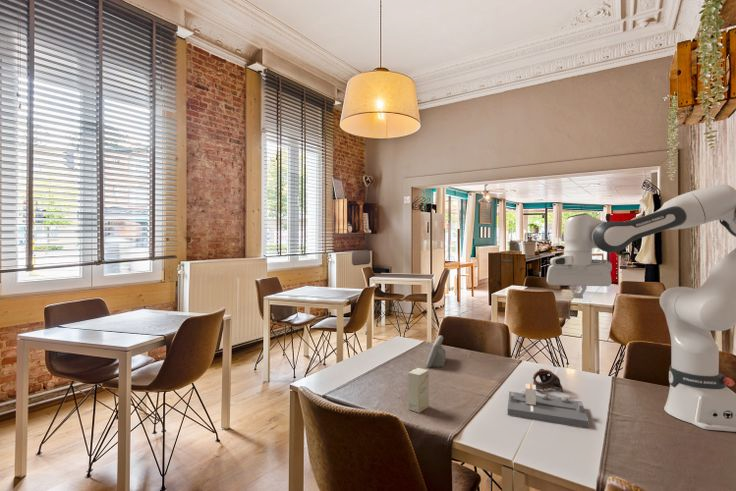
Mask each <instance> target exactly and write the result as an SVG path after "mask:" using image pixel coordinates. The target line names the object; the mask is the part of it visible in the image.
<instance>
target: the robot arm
mask: <svg viewBox="0 0 736 491" xmlns="http://www.w3.org/2000/svg"><path fill="white" fill-rule="evenodd" d="M714 221H719V223H720V225H722V226H723V227H724V228H725V229H726V230H727V231H728V233H729V234H731V236H733V237H735V238H736V189H735V188H734V187H733V186H731V185H728V184H717V185H711V186H706V187H702V188H698V189H694V190H692V191H691V190H690V191H688V192H685V193H682V194H679V195H677V196H675V197H673V198H671V199H669V200H667V201H664V203H663V204H662V206H661V207H660V208H659V209H657V210H656V211H653V212H652V213H648V214H645V215H641V216H638V217H636V218H634V219H633V218H632V219H631V220H630V219H629V220H625V221H617V220H612V221H611V220H608V221H605V220H601V219H599V218H596V217H594V216H592V215H591V214H589V213H579V214H574V215H573V214H572V215H571V216H568V217H567V218H566V219H565V222H564V224H563V241H564V248H563V254H562V255H561V254H560V255H558V256H554V257H552V258H550V260H549V262H550V265H549V266H548V267H547V272H546V283H547V285H549V286H569V290H570V291H571V292H572V298H573V299H580V300H581V299H584V294H585V292H586V290H587V287H610V286H611V285H612V275H611V272H612V270H613V269H612V268H613V266H612V265H613V264H612V262H610V261H609V260H607V259H593V249H599V250H601V251H602V252H605V253H616V252H617V253H619V252H621V251H623V250H624V249H625V248H627V247H628V246H629V245H630V244H632V243H633V242H635V241H636V240H639V239H642V238H645V237H647V236H652V235H653V234H658V233H660V232H663V231H670V230H672V231H673V230H674V231H675V230H676V231H677V230H683V229H689V228H693V227H697V226H698V227H699V226H702V225H705V224H707V223H711V222H714ZM708 274H709V275H708V276H707V279H706V280H705V281H704V282H703V283H702V285H700V286H699V287H698V288H697V287H696V288H692V287H688V286H675V287H669V288H667V289H665V290H664V291H663V292H662V293H661V295H660V296H659V305H660V308H661V309H662V311H663V313H664V316H665V320H666V324H667V328H668V331H669V335H670V336H669V337H670V345H671V347H670V348H671V353H670V355H671V357H670V359H671V364H670V365H669V371H668V381H669V391H668V396H667V398H666V402H665V405H664V408H663V409H664V411H665V413H667V414H669V415H670V416H672V417H674V418H676V419H679V420H681V421H683V422H687V423H689V424H692V425H694V426H696V427H698V428H700V429H704V430H709V431H722V432H723V431H724V432H733V433H735V432H736V392H734V391H733V390H731V389H730V388H729V387H734V385H735V384H736V383H735V381H734V380H733V379H732V378H730V377H726V376H725V375H724V374H722V373H721V372H719V368H720V367H719V364H720V363H719V362H720V360H719V359H720V358H719V357H720V348H719V346H718V344H717V342H716V341H715V339H714V337H713V334H712V332H711V331H713V332H714V331H716V332H724V331H727V330H730V329H731V328H733V327H734V326H735V325H736V247H734V249H733V250H731V251H730V252H729V253H727V254H726V255H724V257H723V258H722V259H720V260H719V261H718V262H717V263H714V264H713V265H712V266H711V267H710V268H709V271H708ZM577 286H578V287H581V290H580V292H575V290H574V289H575V288H576V287H577Z"/></svg>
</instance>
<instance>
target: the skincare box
mask: <svg viewBox="0 0 736 491" xmlns="http://www.w3.org/2000/svg"><path fill="white" fill-rule="evenodd" d="M429 374H430V372H429V370H428V369H425V368H421V367H416V368H414V369H412V370H410V371H408V372H407V385H408V386H407V387H408V388H407V392H408V394H407V395H408V396H407V397H408V399H407V400H408V401H407V402H408V405H407V407H408V408H407V409H408V410H410V411H412V412H415V413H418V414H419V413H421V412H423V411H425V410H426V409H428V408H429V406H430V400H429V398H430V392H429V390H430V389H429V387H430V385H429V378H430V377H429Z"/></svg>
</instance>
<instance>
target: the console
mask: <svg viewBox="0 0 736 491" xmlns="http://www.w3.org/2000/svg"><path fill="white" fill-rule="evenodd" d="M507 416H512V417H518V418H525V419H532V420H537V421H543V422H549V423H555V424H561V425H567V426H574V427H580V428H586V429H589V419H588V416H587V413H586V410H585V407H584V404H583V401H580V400H574V399H570V398H569V397H568V396H561V398H559V397H558V398H557V397H554V396H553V397H552V396H551V397H550V396H549V395H548V394H546V393H541V395H538V394H536V405H531V404H526V390H523V391H521V392H517V391H509V394H508V400H507Z"/></svg>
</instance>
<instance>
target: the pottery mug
mask: <svg viewBox="0 0 736 491" xmlns="http://www.w3.org/2000/svg"><path fill="white" fill-rule="evenodd" d="M538 377H539V379H540V381H538V380H537V378H538ZM532 379H533V380H532V381H533V382H532V385H536V390H540V391H545V390H549V389H553V390H555V389H556V388H558V389H560V391H561V393H563V391H564V389H563V385H562V383H561V380H560V377H559V376H558V375H557V374H555V373H553V372H552V371H551V370H549V369H544V368H541V369H539V370H537V371H536V372H535V373H534V374H533V376H532Z"/></svg>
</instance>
